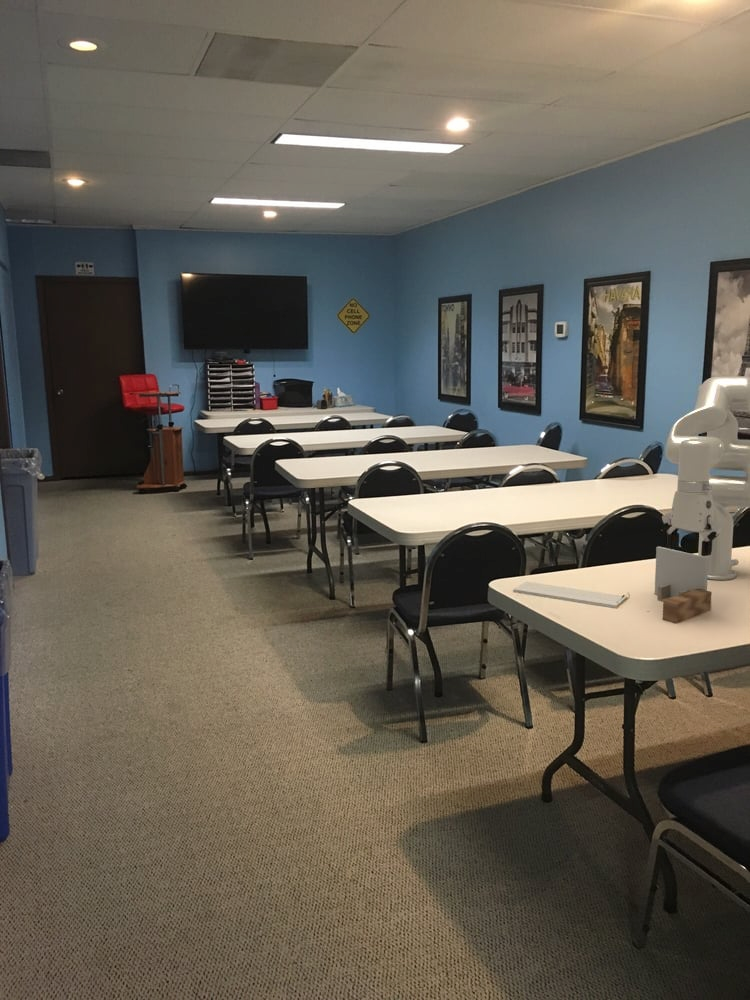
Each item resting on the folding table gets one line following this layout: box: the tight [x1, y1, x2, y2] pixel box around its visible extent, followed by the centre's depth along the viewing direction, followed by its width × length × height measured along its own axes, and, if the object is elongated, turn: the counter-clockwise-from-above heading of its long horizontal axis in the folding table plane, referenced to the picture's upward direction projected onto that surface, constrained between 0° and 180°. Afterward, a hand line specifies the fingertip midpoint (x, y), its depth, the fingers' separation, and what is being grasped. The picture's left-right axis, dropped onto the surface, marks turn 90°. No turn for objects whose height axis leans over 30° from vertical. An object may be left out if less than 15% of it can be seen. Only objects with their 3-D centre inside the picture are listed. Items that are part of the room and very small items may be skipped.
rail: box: [662, 589, 712, 624], centre depth 206 cm, size 16×4×6 cm, turn 126°
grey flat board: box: [512, 581, 631, 609], centre depth 227 cm, size 31×3×12 cm
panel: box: [654, 546, 709, 602], centre depth 217 cm, size 5×16×14 cm, turn 32°
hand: (689, 551), depth 203 cm, fingers open, 9 cm apart
